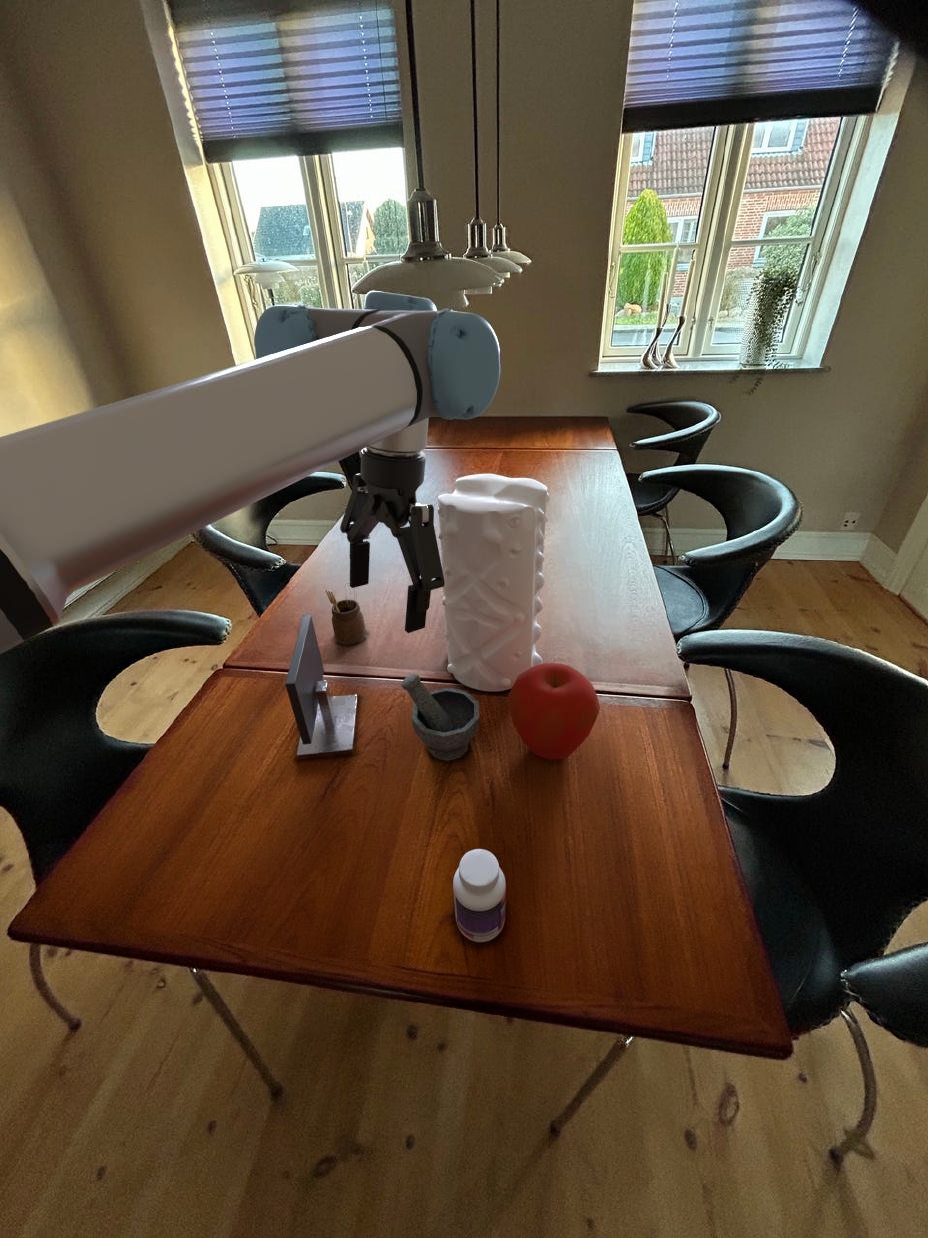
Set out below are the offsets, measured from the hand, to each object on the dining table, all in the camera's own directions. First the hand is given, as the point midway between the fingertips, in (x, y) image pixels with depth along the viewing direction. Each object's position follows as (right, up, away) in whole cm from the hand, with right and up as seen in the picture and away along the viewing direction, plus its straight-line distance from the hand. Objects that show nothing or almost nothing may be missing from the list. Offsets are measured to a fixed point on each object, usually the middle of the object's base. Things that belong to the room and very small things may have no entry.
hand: (385, 606), depth 72 cm
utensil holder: (-11, -5, +30) cm, 32 cm away
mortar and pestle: (+8, -20, +7) cm, 23 cm away
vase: (+16, -10, +22) cm, 29 cm away
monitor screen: (-12, -15, +7) cm, 20 cm away
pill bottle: (+13, -34, -15) cm, 40 cm away
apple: (+23, -21, +5) cm, 32 cm away
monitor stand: (-11, -19, +10) cm, 24 cm away
